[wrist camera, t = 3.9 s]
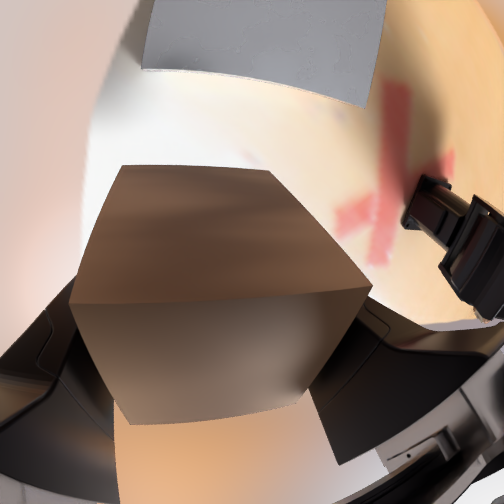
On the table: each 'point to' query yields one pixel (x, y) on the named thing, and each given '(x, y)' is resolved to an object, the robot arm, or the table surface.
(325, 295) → the walnut block
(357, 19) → the base plate
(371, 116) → the table surface
